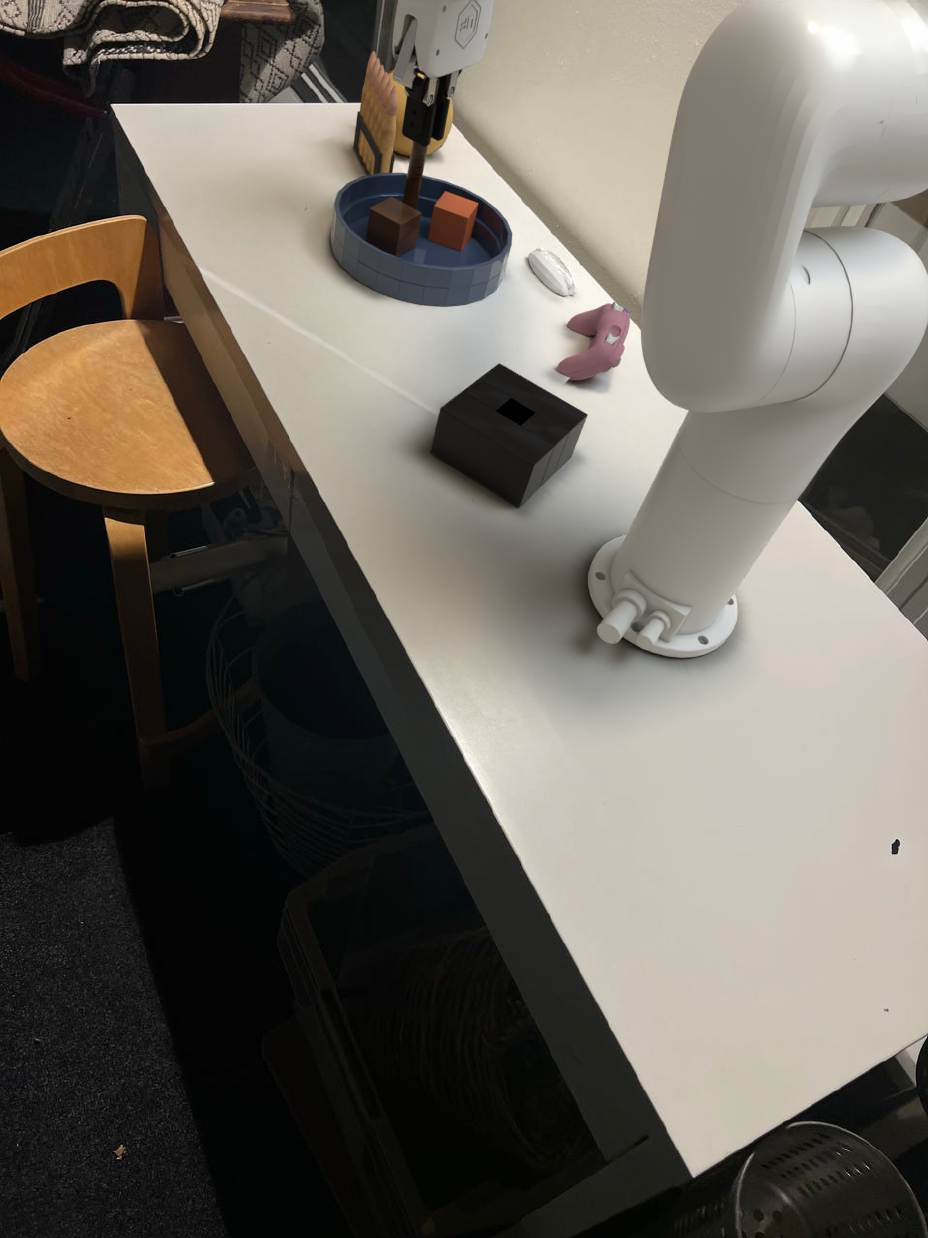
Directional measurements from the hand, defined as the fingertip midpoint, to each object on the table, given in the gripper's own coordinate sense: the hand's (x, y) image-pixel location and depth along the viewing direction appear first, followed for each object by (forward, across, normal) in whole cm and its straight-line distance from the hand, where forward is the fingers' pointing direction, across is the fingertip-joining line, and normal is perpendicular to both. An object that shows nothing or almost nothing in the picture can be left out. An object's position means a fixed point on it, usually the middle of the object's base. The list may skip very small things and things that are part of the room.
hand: (422, 136), depth 92 cm
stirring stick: (+10, 0, 0) cm, 10 cm away
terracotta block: (+11, +4, -3) cm, 12 cm away
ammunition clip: (+12, +9, +12) cm, 19 cm away
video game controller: (+12, -2, -26) cm, 28 cm away
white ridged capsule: (+12, +7, -15) cm, 21 cm away
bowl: (+12, -2, -3) cm, 12 cm away
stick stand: (+12, -22, -27) cm, 37 cm away
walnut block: (+11, -3, 0) cm, 11 cm away
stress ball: (+12, +18, +13) cm, 25 cm away
